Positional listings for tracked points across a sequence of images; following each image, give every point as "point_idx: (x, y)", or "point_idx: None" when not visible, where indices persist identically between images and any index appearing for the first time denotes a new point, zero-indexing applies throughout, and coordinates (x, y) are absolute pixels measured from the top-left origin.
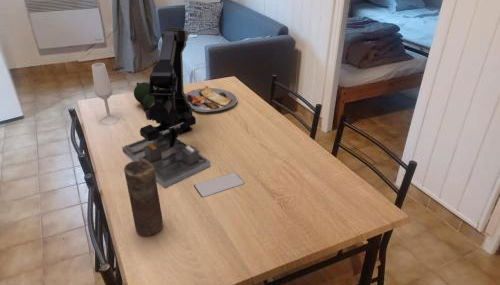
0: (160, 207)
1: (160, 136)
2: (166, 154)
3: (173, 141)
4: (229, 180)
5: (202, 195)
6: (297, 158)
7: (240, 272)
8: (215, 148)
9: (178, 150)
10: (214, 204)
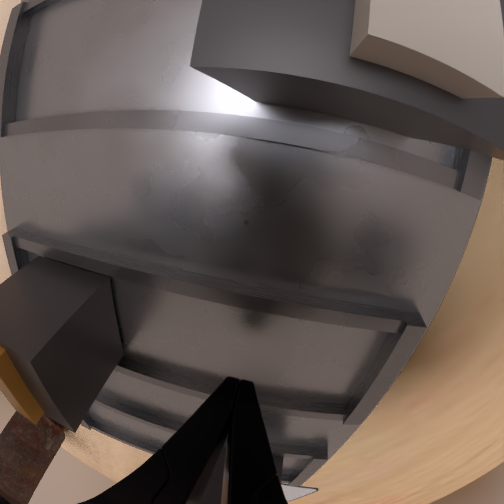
0: (49, 464)
1: (318, 103)
2: (178, 347)
3: (223, 482)
4: None
5: None
6: (434, 490)
7: None
8: (449, 411)
9: (293, 381)
10: None
